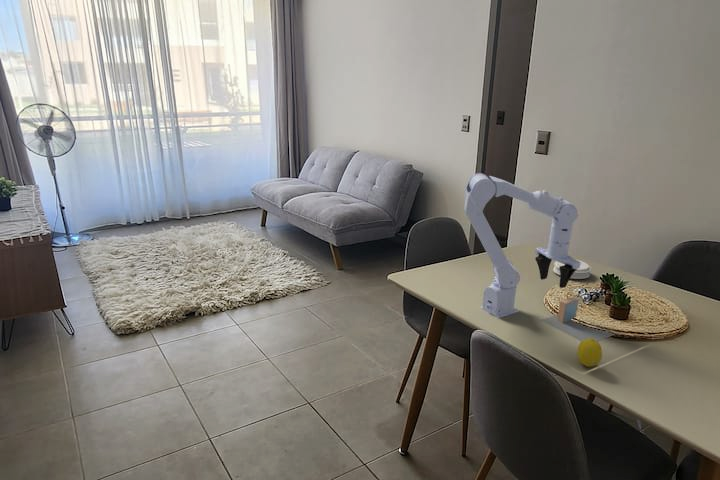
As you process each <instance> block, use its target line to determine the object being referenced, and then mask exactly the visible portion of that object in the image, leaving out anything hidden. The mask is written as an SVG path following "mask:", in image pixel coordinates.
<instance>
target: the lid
mask: <svg viewBox="0 0 720 480" xmlns="http://www.w3.org/2000/svg"><path fill="white" fill-rule="evenodd" d="M576 260H577V261H579V262H581V263H580V268H578V269H577V270H576V271H575V272H574V273H573V274H572V276H571V277H570V279H574V280H576V279H577V280H582V279H587V278H589V277H591V273H590V272H591V266H590V265H589V264H588V263H587V262H584V261H583V260H578V259H576ZM553 265H554V267H553V269H552V271H553V272H554V273H555V274H556V275H559V276H560V268H559V267H560V266H565V264H563V263H560V262H558V261H555V260H554V262H553Z"/></svg>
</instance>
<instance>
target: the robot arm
mask: <svg viewBox="0 0 720 480" xmlns="http://www.w3.org/2000/svg"><path fill="white" fill-rule="evenodd" d="M504 195H505V196H508V197H510V198H513V199H515V200H519V201H522V202H524V203H527V204H528V207H529V209H531V210H532V211H535V212H537V213H541V214H543V215H546V216H548V217H552V219H551V220H552V221H551V225H550V232H549V239H548V245H547V248H545V247H541V246H539V247H535V252H534V254H535V255H538V256H536V257H535V261H536V264H537V267H538V270H539V278H540V280H546V279H547V278H548V275H549V269H550V265H551V262H552V260H553V261H554V262H555V261H558V262H560V263H563V264H565V266H560V267H559V268H560V275H559V277H560V278H559V284H558V285H559V288H560V289H564V288H566V287H567V285H568V283H569V281H570V279H571V278H570V277H571V276H572V274H573V273H574V272H575V271H576V270H577V269H578V268H580V263H581V262H579V261H580V260H579V261H577V260H578V259H575V258H573V257H572V256H570V255H569V251H570V250H569V249H570V243H571V238H572V231H573V226H574V225H573V224H574V222H575V221H576V220H577V219H578V217H579V213H578V209H577V208H576V206H575V204H572V203H571V202H570V201H568V200H566V198H565V199H564V198H563V197H560V196H559V197H556V196H554V195H551V194H549V191H548V190H544V189H543V190H542V191H541V190H536V191H533V192H531V191H529V190H527V189H525V188H523V187H520V186H518V185H516V184H513V183H511V182H509V181H507V180H504V179H501V178H498V177H495V176H492V175H487V174H484V173H480V172H479V173H474V174H473V175H472V176H471V177H469V180H468V182H467V184H466V186H465V199H464V207H463V209H464V210H463V211H464V212H465V215H466V216H467V219H468V220H469V222H470V224H471V226H472V227H473V229H474V230H473V231H475V233H476V235H477V238H478V239H479V241H480V242H481V245H482V246H483V248H484V250H485V252H486V254H487V255H488V256H487V257H488V258H489V260H490V261H491V263H492V264H491V265H492V271H493V273H494V275H495V276H494V278H493V279H492V283H491V284H490V285H489V286H487V287H486V288H485V289H484V291H483V298H482V305H481V306H480V309H482V310H483V311H485V312H487V313H489V314H491V315H492V316H494V317H495V318H498V319H499V318H500V319H501V318H503V317H505V316H510V315H513V314H516V313H519V312H520V311H521V310H520V309H518V308H517V307H515V304H516V295H517V288H518V287H517V286H518V284H519V283H520V280H521V275H520V273H519V271H517V270H516V268H515V267H514V264H513V262H512V261H511V260H510V259H508V258H507V256H506V254H505V253H504V251H503V248H502V247H501V245H500V243H499V241H498V239H497V237H496V235H495V233H494V231H493V229H492V228H491V226H490V223H489V222H488V220H487V218H486V216H485V214H484V209H485V207H486V205H487V204H488V202H489V201H491V199H492V198H493V197H496V198H498V197H499V198H500V197H502V196H504Z"/></svg>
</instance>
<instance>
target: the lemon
mask: <svg viewBox="0 0 720 480" xmlns="http://www.w3.org/2000/svg"><path fill="white" fill-rule="evenodd" d="M576 356H577V359H578V361H579V362H580V364H582V365H584V366H585V367H595V366H596V365H598V364H599V363H600V362H601V359H602V356H603V349H602V345H601V344H600V343H599V341H598V342H597V341H596V340H594V339H592V338H591V339H585V340H583V341H580V343H579V345H578V347H577V351H576Z"/></svg>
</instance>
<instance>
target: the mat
mask: <svg viewBox="0 0 720 480" xmlns="http://www.w3.org/2000/svg"><path fill="white" fill-rule="evenodd" d="M557 318H558V314H555V315H551V316H549V317H546V318H542V319H541V321H542V322H544V323H546V324H548V325H550V326H551V327H553V328H555V329H557V330H559V331H561V332H563V333H564V334H566V335H568V336H570V337H572V338H574V339H577V340H578V341H580V342H582V341H583V340H585V339H591V338H592V339H594V340H596V341H597V342H598V343H599V342H600V341H602V340H605V339H607V338H609V337H612V336H614V335H616V333H614V334H612V333H613V332H612V333H608V332H605V331H602V330H598V329H594V328H590V327H586V326H583V325H580V324H578V323H576V322H573V321H572V320H570V321H567V322H564V323H561V322H559V321H557Z"/></svg>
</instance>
